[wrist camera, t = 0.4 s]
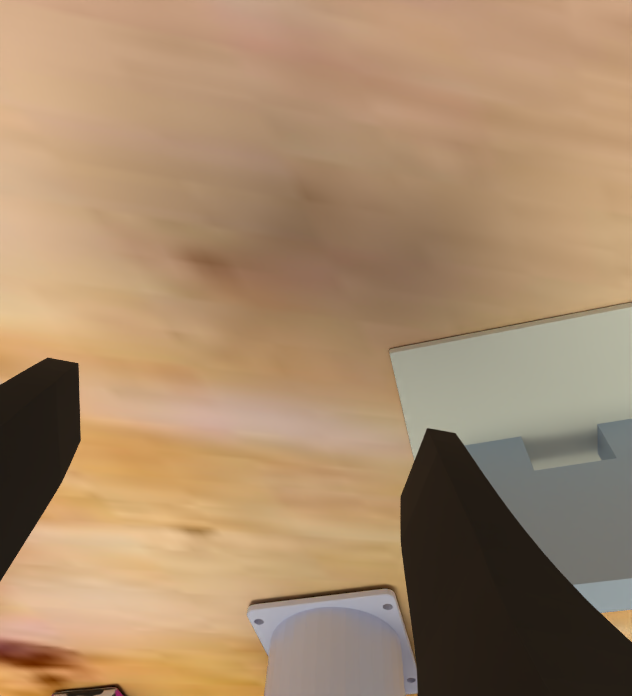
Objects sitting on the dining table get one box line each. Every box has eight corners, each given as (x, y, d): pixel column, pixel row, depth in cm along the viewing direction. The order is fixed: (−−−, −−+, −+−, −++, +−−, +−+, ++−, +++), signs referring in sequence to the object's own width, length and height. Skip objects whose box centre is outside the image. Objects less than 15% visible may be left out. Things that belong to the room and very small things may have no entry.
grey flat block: (661, 443, 24) (766, 595, 18) (464, 473, 25) (500, 623, 19) (663, 413, 23) (773, 561, 17) (459, 446, 24) (496, 593, 18)
